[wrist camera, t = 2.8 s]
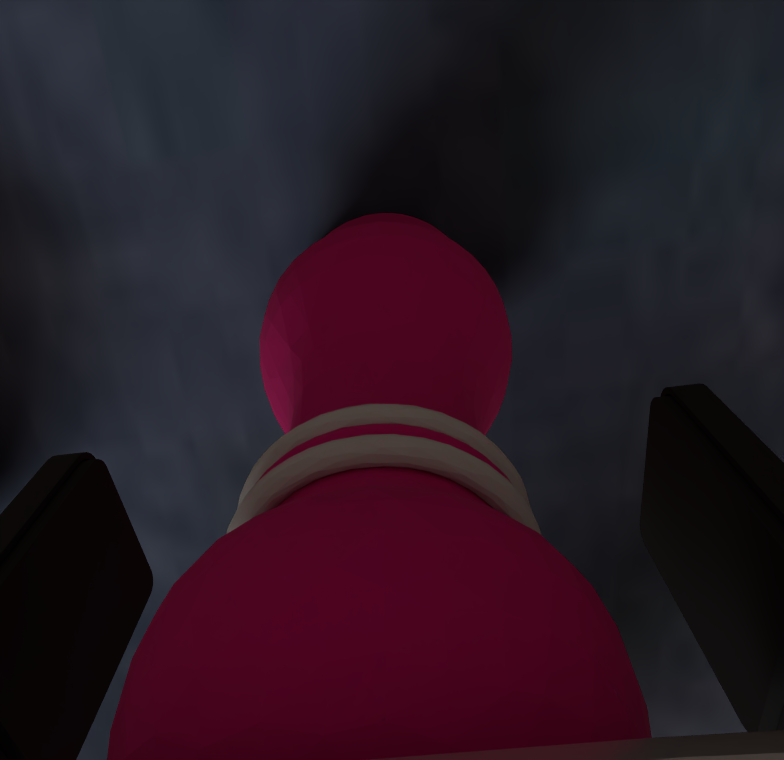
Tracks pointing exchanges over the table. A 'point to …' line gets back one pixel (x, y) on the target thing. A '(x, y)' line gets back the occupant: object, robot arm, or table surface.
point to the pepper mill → (379, 544)
